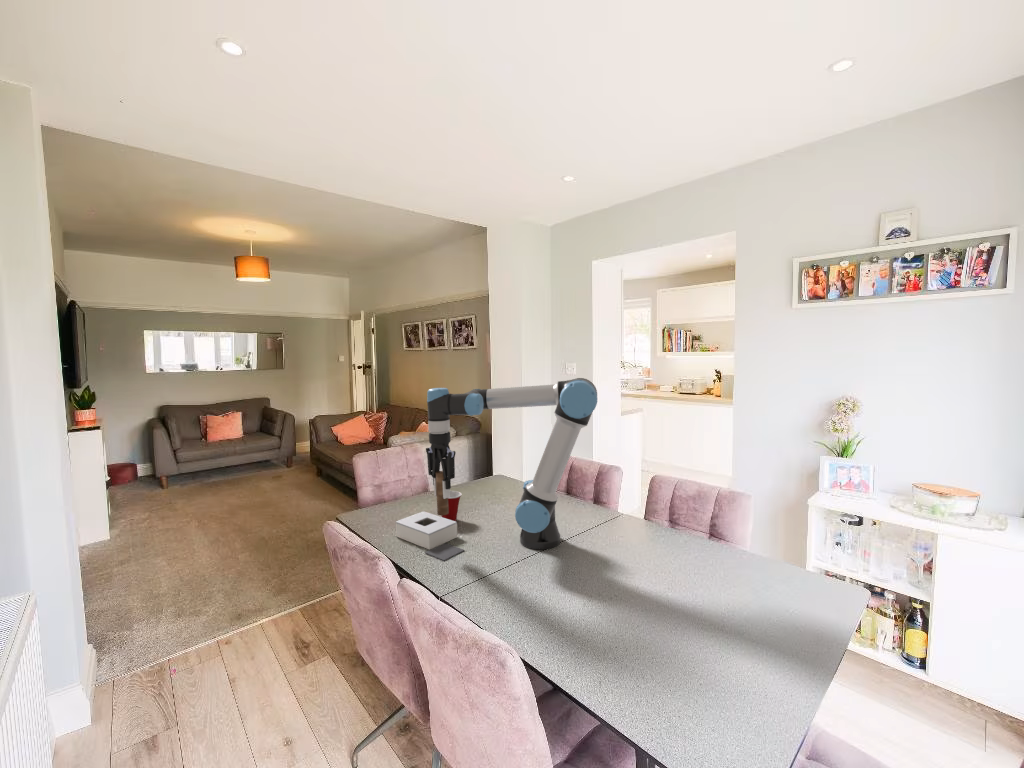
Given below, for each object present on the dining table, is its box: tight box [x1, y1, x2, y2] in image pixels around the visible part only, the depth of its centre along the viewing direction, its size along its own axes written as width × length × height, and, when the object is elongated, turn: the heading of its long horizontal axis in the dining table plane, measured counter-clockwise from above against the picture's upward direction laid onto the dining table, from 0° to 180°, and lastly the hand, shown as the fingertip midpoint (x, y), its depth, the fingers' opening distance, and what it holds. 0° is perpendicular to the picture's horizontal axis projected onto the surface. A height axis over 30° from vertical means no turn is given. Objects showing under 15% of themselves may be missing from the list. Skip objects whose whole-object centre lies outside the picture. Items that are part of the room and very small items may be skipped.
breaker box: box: [394, 510, 458, 551], centre depth 182 cm, size 20×14×6 cm
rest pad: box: [424, 542, 466, 562], centre depth 169 cm, size 10×10×1 cm
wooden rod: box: [436, 470, 449, 516], centre depth 167 cm, size 4×4×15 cm
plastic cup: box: [440, 490, 463, 522], centre depth 198 cm, size 11×11×12 cm
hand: (442, 496), depth 168 cm, fingers closed on wooden rod, 4 cm apart
